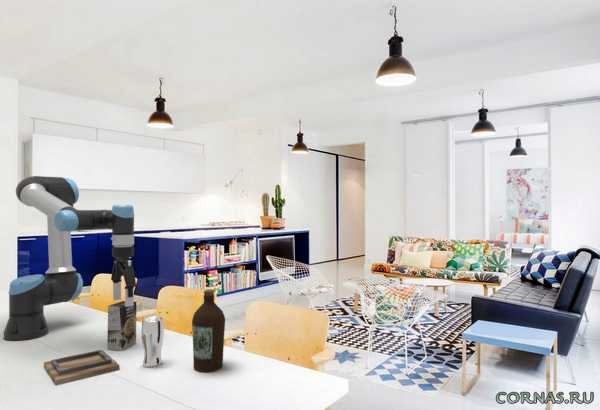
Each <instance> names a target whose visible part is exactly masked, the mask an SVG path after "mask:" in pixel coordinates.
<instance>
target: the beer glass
mask: <svg viewBox="0 0 600 410" xmlns="http://www.w3.org/2000/svg"><path fill="white" fill-rule="evenodd" d="M164 325H165V324H164V317H162V316H149V317H144V318H143V319H142V323H141V342H142V346H143V360H142V366H143V367H144V368H157V367H158V366H161V365H162V363H163V360H162V347H163V341H164V331H165V330H164V329H165V327H164Z"/></svg>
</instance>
